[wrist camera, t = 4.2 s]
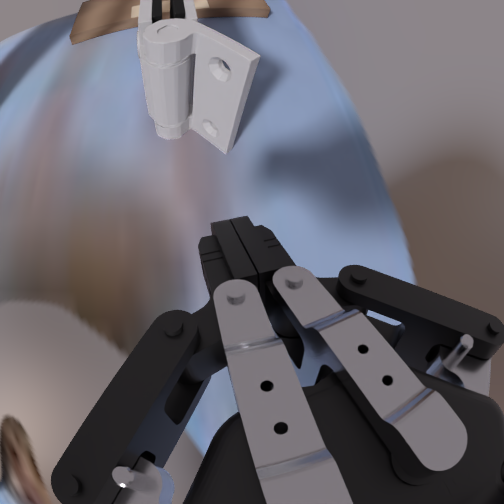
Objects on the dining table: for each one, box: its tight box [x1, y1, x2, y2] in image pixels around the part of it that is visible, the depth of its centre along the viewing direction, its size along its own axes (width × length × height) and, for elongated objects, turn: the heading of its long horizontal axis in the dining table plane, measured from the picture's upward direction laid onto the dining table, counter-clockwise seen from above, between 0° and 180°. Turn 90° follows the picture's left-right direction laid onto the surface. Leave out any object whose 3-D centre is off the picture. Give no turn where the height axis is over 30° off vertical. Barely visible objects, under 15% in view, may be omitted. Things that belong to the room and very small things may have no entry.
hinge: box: [137, 0, 260, 154], centre depth 16 cm, size 14×5×10 cm, turn 25°
